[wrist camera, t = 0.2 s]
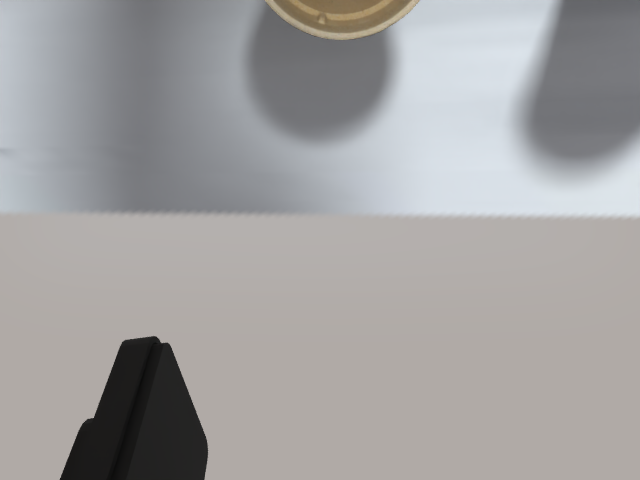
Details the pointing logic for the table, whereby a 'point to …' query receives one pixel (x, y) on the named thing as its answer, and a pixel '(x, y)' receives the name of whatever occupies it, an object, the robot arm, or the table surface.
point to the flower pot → (341, 16)
